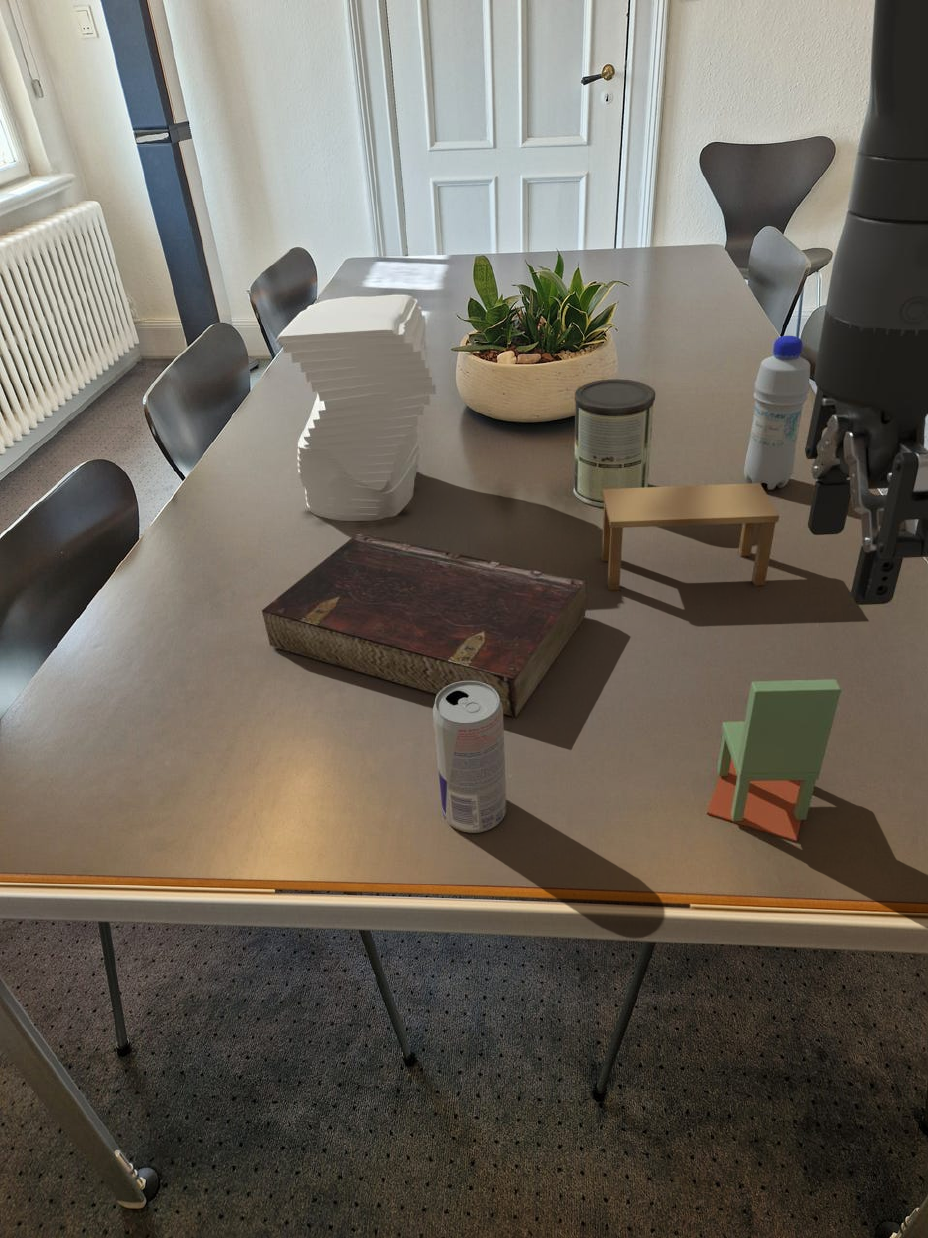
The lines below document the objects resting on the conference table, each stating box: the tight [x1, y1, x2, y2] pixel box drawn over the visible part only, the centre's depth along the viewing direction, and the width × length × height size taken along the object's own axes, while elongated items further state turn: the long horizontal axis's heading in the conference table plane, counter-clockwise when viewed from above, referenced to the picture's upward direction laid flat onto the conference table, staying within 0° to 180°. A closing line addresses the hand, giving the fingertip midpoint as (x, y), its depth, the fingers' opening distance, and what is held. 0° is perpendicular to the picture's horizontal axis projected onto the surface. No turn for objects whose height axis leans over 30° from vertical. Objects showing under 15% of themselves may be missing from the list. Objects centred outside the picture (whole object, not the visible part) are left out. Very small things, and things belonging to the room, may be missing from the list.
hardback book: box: [261, 532, 588, 718], centre depth 91 cm, size 29×19×5 cm, turn 63°
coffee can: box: [573, 378, 656, 508], centre depth 114 cm, size 10×10×14 cm
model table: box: [601, 483, 780, 591], centre depth 97 cm, size 18×8×9 cm, turn 89°
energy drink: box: [432, 681, 507, 834], centre depth 68 cm, size 5×5×12 cm
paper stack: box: [274, 293, 437, 522], centre depth 115 cm, size 21×27×26 cm
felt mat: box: [706, 758, 802, 842], centre depth 70 cm, size 7×7×1 cm
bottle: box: [743, 335, 811, 491], centre depth 111 cm, size 7×7×20 cm
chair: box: [716, 678, 842, 821], centre depth 66 cm, size 6×6×14 cm
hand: (845, 564), depth 54 cm, fingers open, 8 cm apart
